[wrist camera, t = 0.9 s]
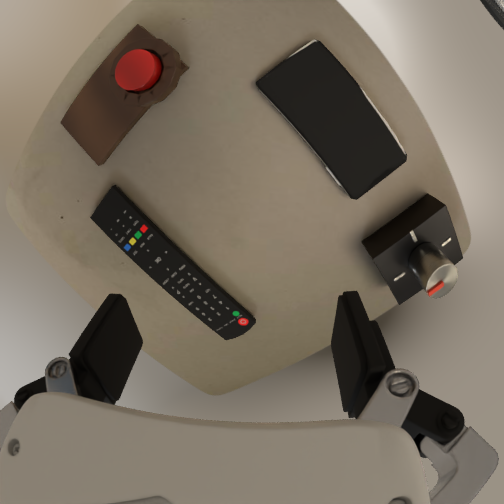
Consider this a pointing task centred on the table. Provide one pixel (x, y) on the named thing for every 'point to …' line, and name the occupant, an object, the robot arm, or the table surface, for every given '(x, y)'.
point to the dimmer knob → (433, 270)
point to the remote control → (170, 266)
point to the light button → (138, 70)
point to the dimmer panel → (412, 243)
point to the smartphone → (334, 118)
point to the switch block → (119, 97)
